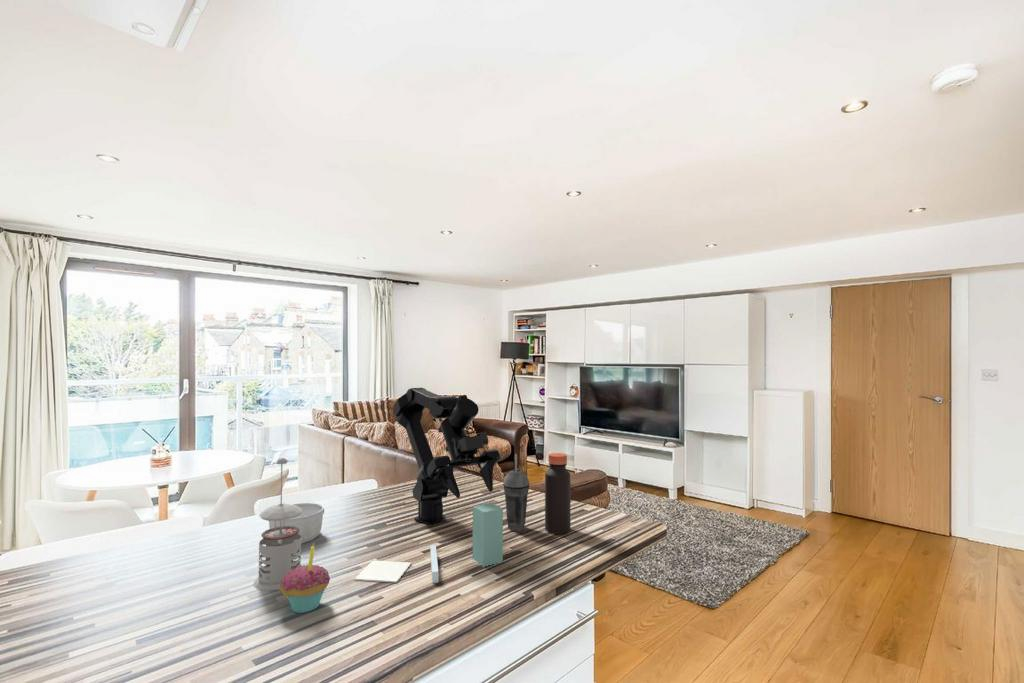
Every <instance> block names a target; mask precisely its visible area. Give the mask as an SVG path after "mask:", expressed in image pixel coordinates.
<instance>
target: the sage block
mask: <svg viewBox="0 0 1024 683" xmlns="http://www.w3.org/2000/svg"><path fill="white" fill-rule="evenodd" d="M503 524H504V508H503V507H501V506H499V505H498V504H495V503H493V502H488V503H482V504H478V505H474V506H472V560H473V559H474V560H475V561H477V562H478V563H479V564H481V565H482V566H483V567H482V566H481V565H480V566H481V567H482V568H486V567H485V566H487V567H489V566H488V565H491V566H493V565H492V564H494V565H497V564H496V563H498V564H501V563H500V562H502V563H503V562H504V560H503V559H504V558H503V557H504V552H503V551H504V540H503V538H504V535H503V534H504V525H503ZM474 560H473V561H474ZM475 561H474V562H475ZM477 562H476V563H477ZM478 563H477V564H478ZM479 564H478V565H479Z"/></svg>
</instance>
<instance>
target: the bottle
mask: <svg viewBox="0 0 1024 683" xmlns="http://www.w3.org/2000/svg"><path fill="white" fill-rule="evenodd" d="M567 464H568V455H567V454H566V453H561V452H552V453H549V454H548V465H549V468H548V469H547V470H546V472H545V473H544V528H545V531H546V532H547V531H548V533H549V532H550V533H549V534H552V533H554V534H553V535H564V534H563V533H566V534H568V533H570V531H571V528H572V527H571V517H572V516H571V472H570V471H569V470H568V469H567ZM567 532H568V533H567Z"/></svg>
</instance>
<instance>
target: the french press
mask: <svg viewBox="0 0 1024 683" xmlns="http://www.w3.org/2000/svg"><path fill="white" fill-rule="evenodd" d="M287 463H288V461H287V458H285V457H279V458H278V459H277V462H276V464H277V465H281V466H280V503H278V504H274V505H271V506H269V507H266V508H265V509H264V510H262V511H261V512H260V513H259V515H258V516H259V517H260V518H261V519H262V520H264V521H267V522H269V521H275V528H271V529H270V528H269V529H266V530H264V531H263V532H262V533H261V538H262V539H260V540H259V542H258V545H259V546H258V551H259V552H258V576H257V577H256V579H255V580H254V582H253V584H252V585H253V587H254V589H256V590H259V591H268V592H269V591H270V592H271V591H278V590H280V588H279V585H280V582H281V580H282V579H283V577H284V576H285V575H286V573H289V571H291V570H292V569H294V568H296V567H299V566H302V564H301V561H302V557H301V556H302V551H301V550H302V545H301V544H302V543H301V536H300V535H299V534H298V532H299V530H300V529H299V528H297V527H294V526H285V527H284V522H285V520H286V519H291V518H294V517H297V516H298V515H300V514H301V512H302V509H301V508H300V507H298V506H296V505H291V504H290V503H283V502H282V501H283V465H286V464H287ZM281 520H283V527H282V526H281ZM276 521H280V527H276ZM281 539H282V545H279V544H278V540H281ZM296 539H299V540H298V541H296V542H294V540H296ZM296 553H297V554H296ZM263 558H264V559H263ZM262 564H263V565H264V566H263V565H262Z"/></svg>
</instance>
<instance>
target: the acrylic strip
mask: <svg viewBox="0 0 1024 683" xmlns="http://www.w3.org/2000/svg"><path fill="white" fill-rule="evenodd" d="M429 548H430V549H429V550H430V552H429V553H430V556H431V557H430V568H431V570H432V571H431V570H430V571H431V582H432V584H434V583H435V584H436V583H437V584H438V583H439V565H438V555H437V546H436V545H430V546H429Z"/></svg>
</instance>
